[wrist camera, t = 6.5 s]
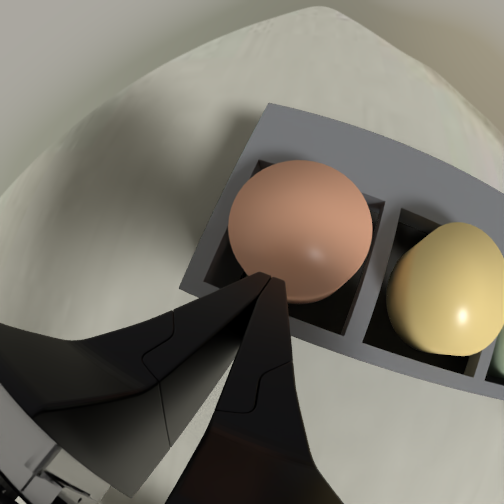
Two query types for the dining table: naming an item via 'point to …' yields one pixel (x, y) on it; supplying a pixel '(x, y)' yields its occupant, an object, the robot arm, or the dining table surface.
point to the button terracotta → (301, 228)
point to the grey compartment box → (390, 212)
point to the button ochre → (448, 292)
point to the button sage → (497, 357)
